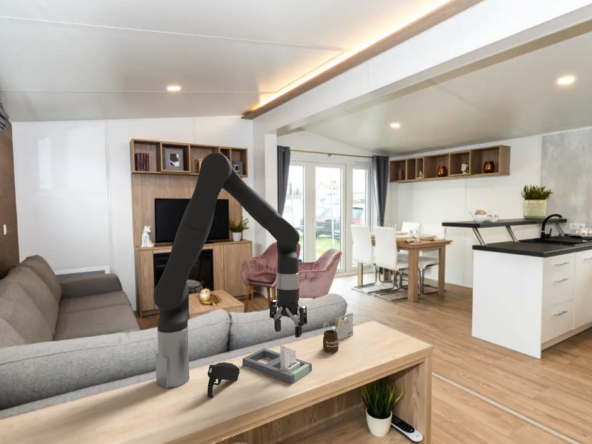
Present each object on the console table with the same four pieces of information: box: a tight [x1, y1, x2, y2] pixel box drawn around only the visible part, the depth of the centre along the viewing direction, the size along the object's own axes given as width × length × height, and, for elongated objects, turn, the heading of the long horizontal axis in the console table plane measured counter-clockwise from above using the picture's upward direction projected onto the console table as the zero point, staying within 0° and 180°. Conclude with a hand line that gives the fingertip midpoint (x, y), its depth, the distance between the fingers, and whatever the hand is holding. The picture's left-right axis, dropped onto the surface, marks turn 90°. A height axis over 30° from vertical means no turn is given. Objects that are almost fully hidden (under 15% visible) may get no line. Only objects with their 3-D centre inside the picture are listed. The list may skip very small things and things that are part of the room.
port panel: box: [242, 347, 313, 385], centre depth 122 cm, size 11×22×2 cm, turn 52°
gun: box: [206, 361, 240, 399], centre depth 110 cm, size 3×16×10 cm, turn 156°
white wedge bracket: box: [279, 345, 300, 373], centre depth 118 cm, size 4×10×9 cm, turn 142°
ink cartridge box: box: [331, 312, 354, 341], centre depth 150 cm, size 2×11×10 cm, turn 130°
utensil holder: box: [322, 317, 339, 354], centre depth 137 cm, size 6×6×12 cm
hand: (287, 334), depth 118 cm, fingers open, 8 cm apart
